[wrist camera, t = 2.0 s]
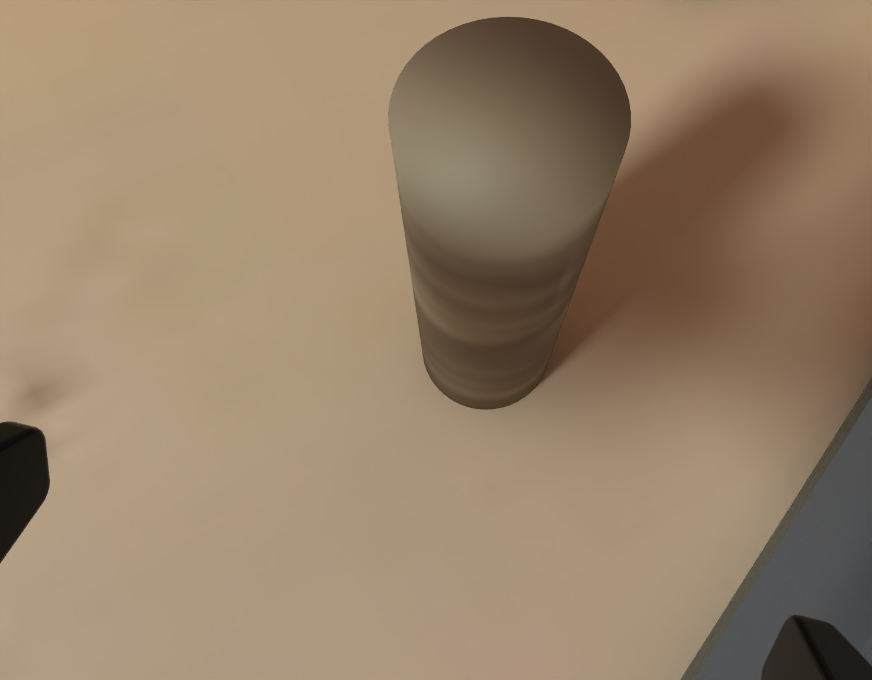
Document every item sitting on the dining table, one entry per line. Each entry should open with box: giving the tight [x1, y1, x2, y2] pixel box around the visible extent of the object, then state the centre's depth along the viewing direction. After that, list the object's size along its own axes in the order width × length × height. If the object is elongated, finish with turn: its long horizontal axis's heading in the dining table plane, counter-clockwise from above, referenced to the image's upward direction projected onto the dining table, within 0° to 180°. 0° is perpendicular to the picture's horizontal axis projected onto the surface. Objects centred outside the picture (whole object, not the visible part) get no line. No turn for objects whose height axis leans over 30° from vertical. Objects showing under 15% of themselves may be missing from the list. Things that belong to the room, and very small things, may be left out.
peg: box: [388, 17, 631, 409], centre depth 18 cm, size 4×4×12 cm
